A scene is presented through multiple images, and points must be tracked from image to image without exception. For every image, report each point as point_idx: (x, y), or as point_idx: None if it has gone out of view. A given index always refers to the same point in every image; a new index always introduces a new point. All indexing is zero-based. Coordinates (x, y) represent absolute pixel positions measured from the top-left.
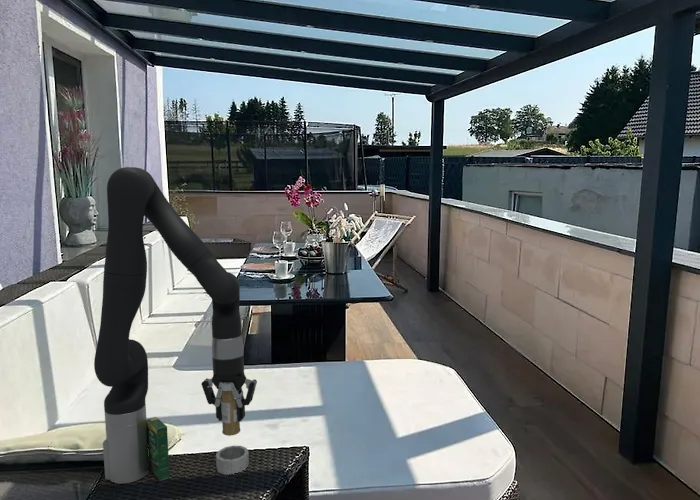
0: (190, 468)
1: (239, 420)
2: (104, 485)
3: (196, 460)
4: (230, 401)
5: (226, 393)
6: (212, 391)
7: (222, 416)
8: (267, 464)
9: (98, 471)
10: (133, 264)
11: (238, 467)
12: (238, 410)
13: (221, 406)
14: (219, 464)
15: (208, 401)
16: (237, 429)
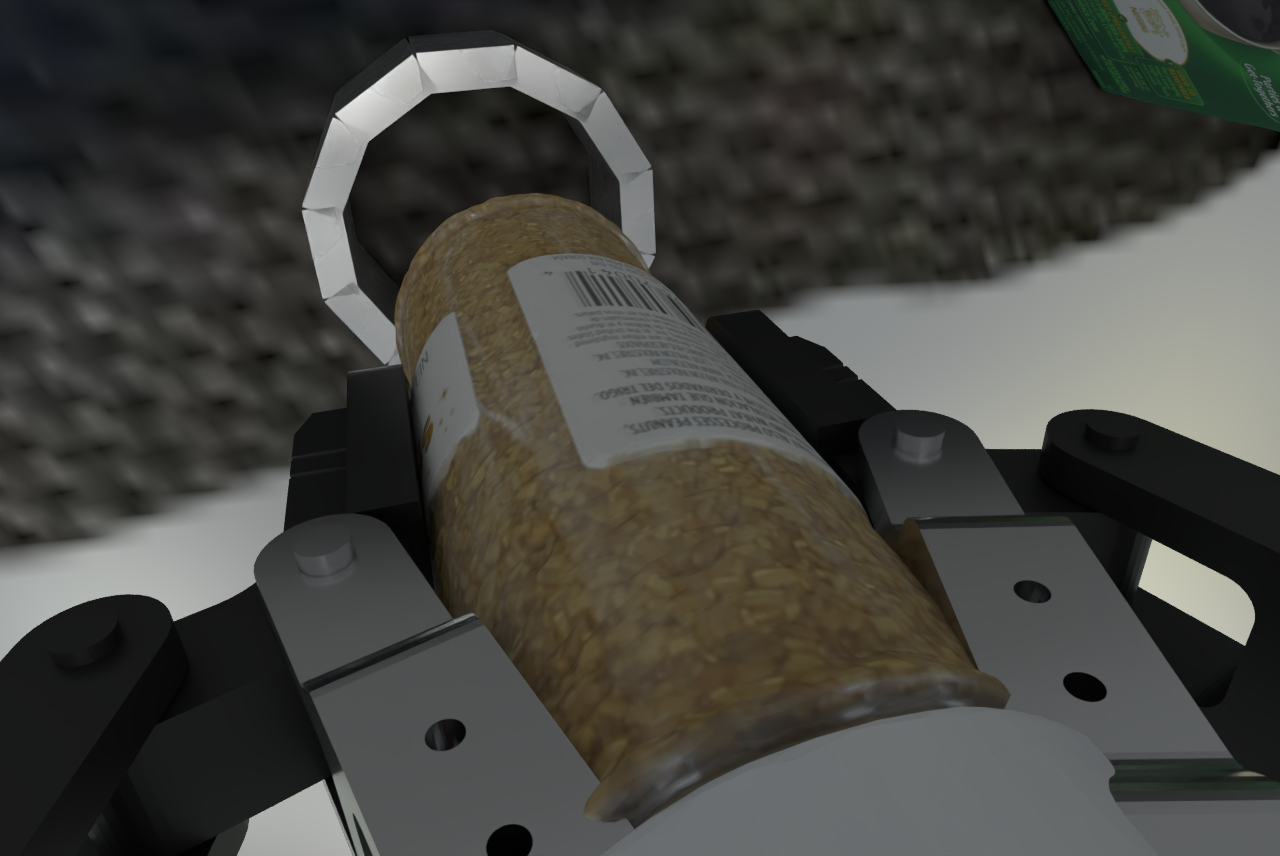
0: (841, 87)
1: (363, 370)
2: None
3: (834, 226)
4: (583, 512)
5: (798, 653)
6: (1217, 711)
7: (699, 323)
8: (141, 299)
9: None
10: None
11: (348, 88)
12: (383, 474)
13: (800, 435)
14: (562, 67)
15: (1151, 435)
16: (409, 307)
